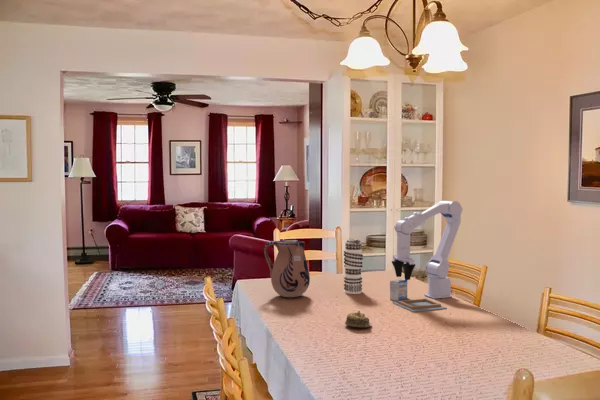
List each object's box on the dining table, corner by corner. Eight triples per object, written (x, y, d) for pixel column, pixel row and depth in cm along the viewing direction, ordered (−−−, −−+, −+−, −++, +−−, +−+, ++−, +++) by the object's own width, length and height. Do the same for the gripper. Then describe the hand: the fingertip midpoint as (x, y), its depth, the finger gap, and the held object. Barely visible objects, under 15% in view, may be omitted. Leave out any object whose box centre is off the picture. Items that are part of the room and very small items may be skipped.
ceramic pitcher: (309, 300, 228) (309, 243, 227) (261, 299, 229) (261, 243, 228) (309, 291, 246) (310, 239, 245) (265, 291, 246) (265, 238, 245)
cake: (350, 330, 185) (350, 315, 185) (340, 322, 195) (340, 308, 194) (376, 328, 188) (376, 313, 187) (365, 320, 197) (365, 306, 197)
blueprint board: (424, 300, 229) (424, 296, 229) (446, 308, 214) (446, 305, 214) (392, 303, 224) (392, 299, 224) (413, 312, 209) (413, 308, 209)
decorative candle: (339, 290, 248) (340, 238, 247) (356, 289, 252) (356, 237, 250) (349, 294, 239) (349, 240, 238) (366, 293, 243) (366, 240, 242)
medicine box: (398, 301, 227) (398, 281, 227) (389, 299, 230) (389, 280, 230) (407, 298, 233) (407, 279, 233) (398, 296, 236) (399, 278, 236)
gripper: (387, 245, 233) (386, 275, 234) (404, 250, 220) (403, 281, 220) (400, 245, 236) (400, 274, 236) (418, 249, 222) (418, 280, 223)
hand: (403, 278), depth 229 cm, fingers open, 7 cm apart
